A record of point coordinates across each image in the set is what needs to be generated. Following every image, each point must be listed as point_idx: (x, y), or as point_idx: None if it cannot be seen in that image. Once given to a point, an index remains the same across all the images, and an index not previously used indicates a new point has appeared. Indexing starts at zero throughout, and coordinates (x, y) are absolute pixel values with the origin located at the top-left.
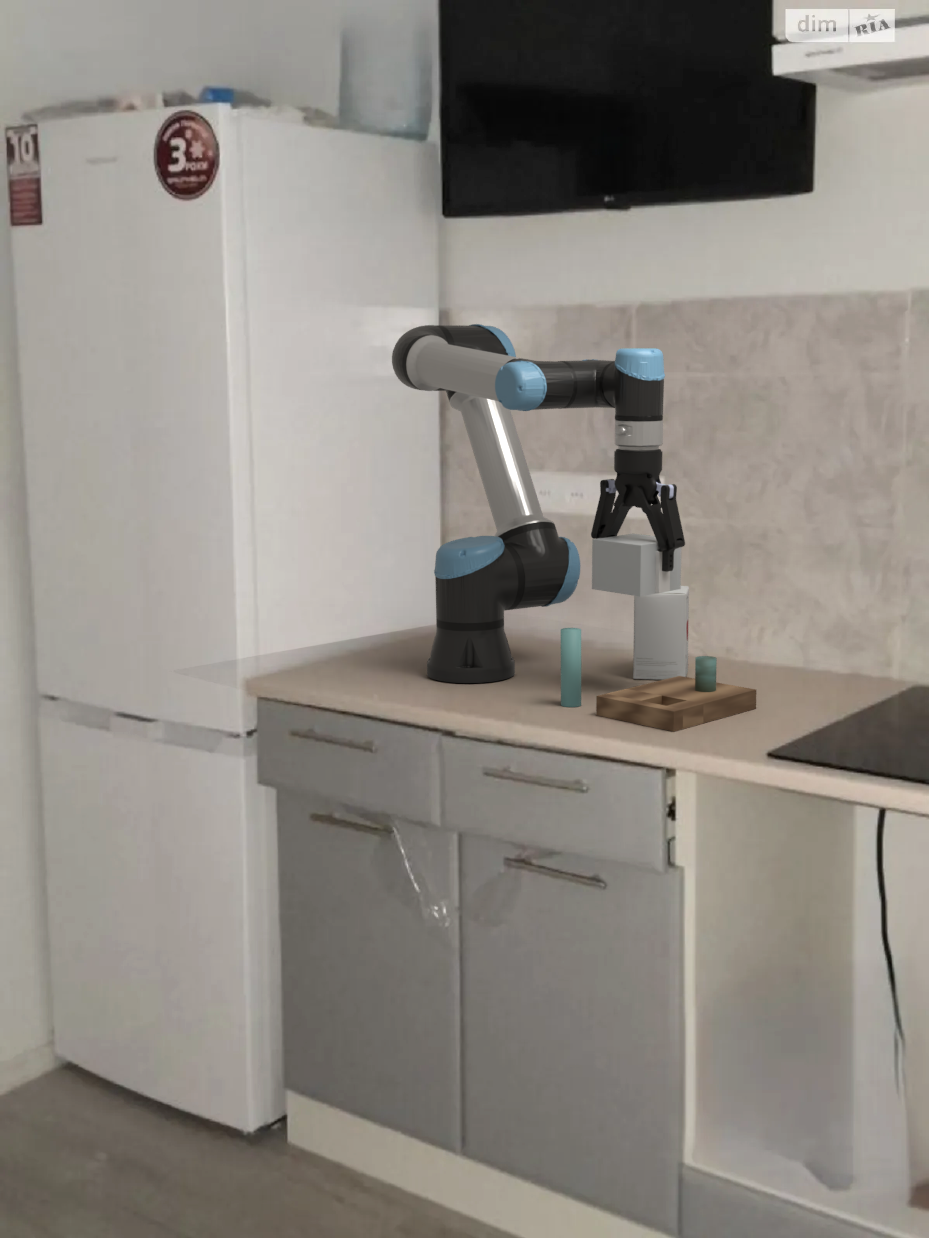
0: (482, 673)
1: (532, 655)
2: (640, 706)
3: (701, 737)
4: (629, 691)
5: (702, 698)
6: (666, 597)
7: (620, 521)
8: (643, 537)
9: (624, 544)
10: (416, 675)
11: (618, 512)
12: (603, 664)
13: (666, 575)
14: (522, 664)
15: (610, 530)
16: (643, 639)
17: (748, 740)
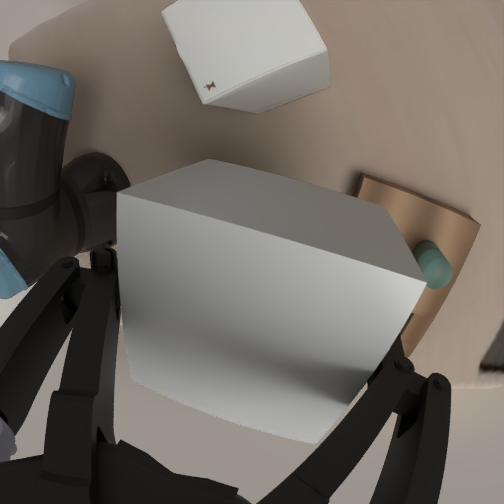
0: None
1: (90, 75)
2: None
3: (432, 348)
4: None
5: (429, 298)
6: (280, 72)
7: (107, 352)
8: (225, 298)
9: (252, 425)
10: None
11: (112, 423)
12: (174, 54)
13: None
14: (104, 120)
15: (116, 347)
16: (256, 104)
17: (469, 340)
